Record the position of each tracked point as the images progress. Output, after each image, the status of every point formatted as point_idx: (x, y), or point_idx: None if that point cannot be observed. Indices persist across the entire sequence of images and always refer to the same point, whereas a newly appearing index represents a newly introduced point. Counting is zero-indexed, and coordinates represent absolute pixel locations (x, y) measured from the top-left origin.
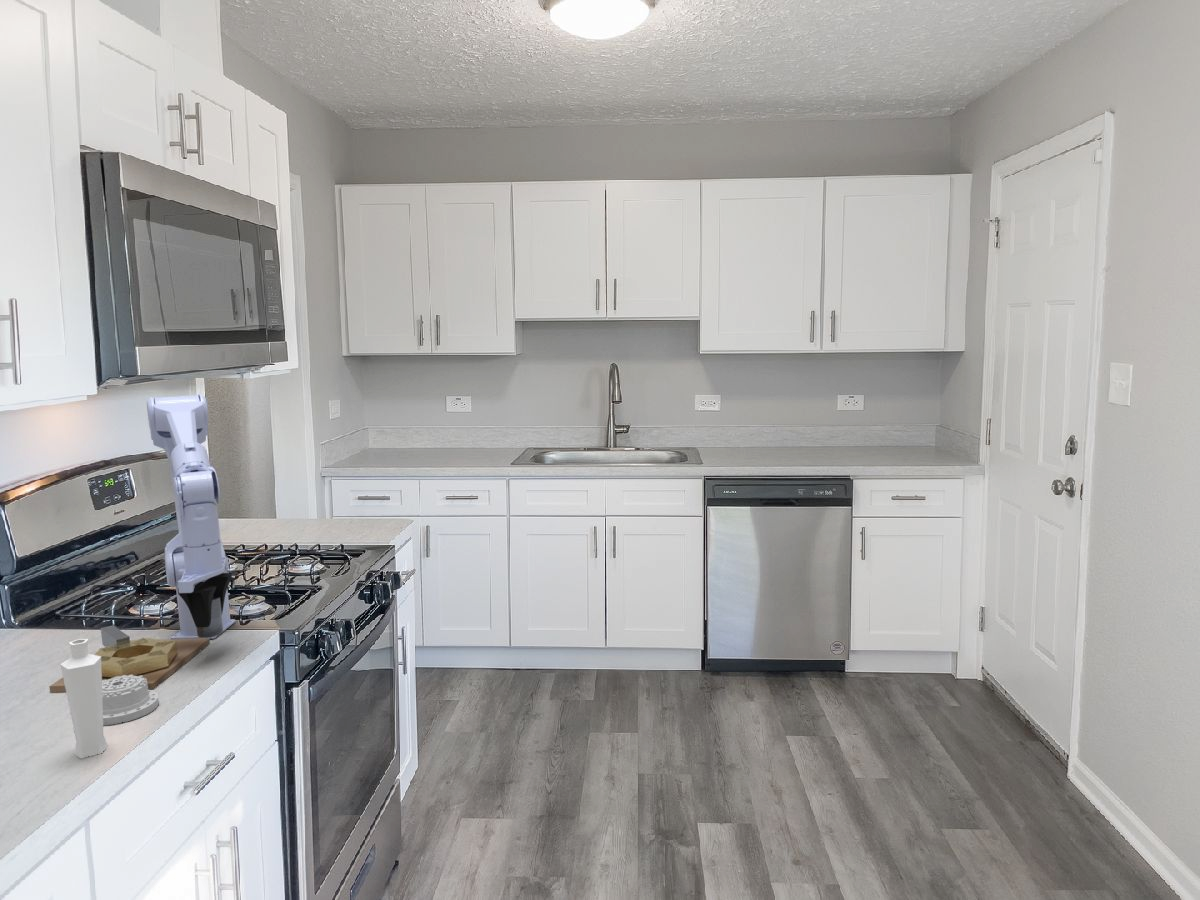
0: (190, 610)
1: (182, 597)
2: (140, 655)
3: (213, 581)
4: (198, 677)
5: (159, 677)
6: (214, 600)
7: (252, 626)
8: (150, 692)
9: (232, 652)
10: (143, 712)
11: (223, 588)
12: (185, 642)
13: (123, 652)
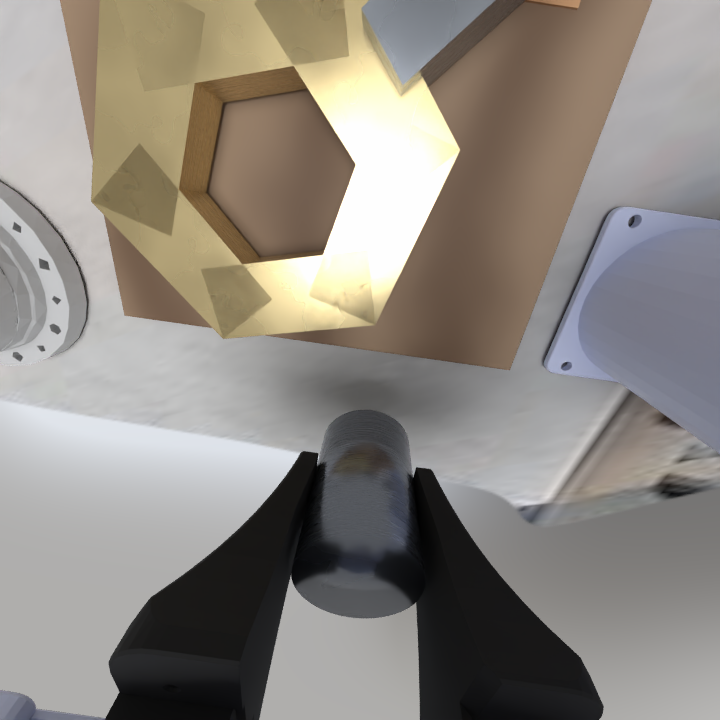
0: (259, 510)
1: (181, 581)
2: (213, 236)
3: (440, 711)
4: (225, 397)
5: (168, 319)
6: (323, 607)
7: (623, 441)
8: (52, 336)
9: None
10: None
11: (420, 670)
12: (494, 301)
13: (316, 102)
